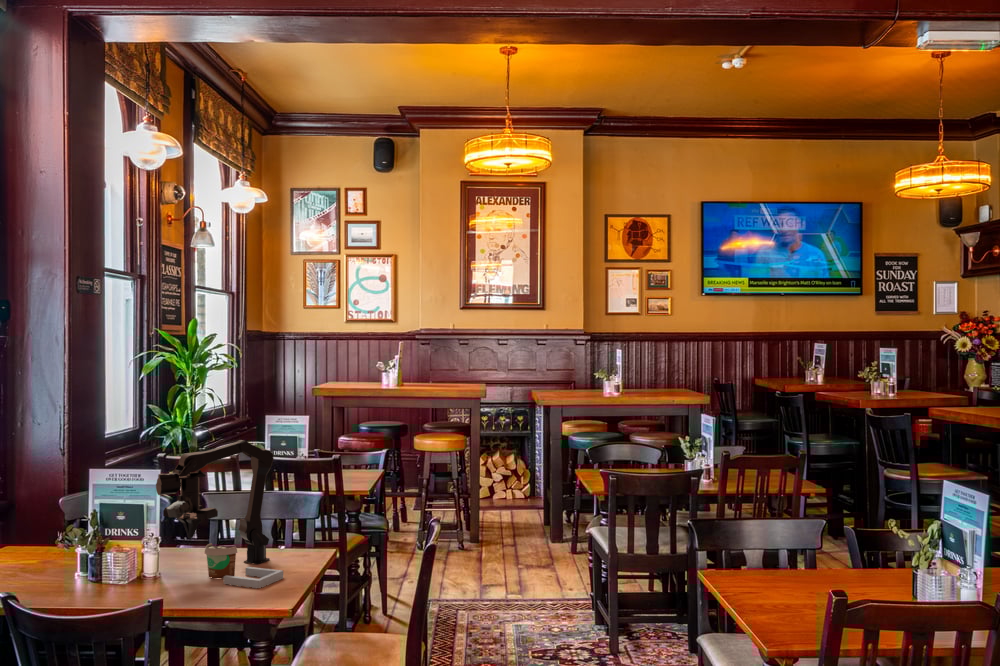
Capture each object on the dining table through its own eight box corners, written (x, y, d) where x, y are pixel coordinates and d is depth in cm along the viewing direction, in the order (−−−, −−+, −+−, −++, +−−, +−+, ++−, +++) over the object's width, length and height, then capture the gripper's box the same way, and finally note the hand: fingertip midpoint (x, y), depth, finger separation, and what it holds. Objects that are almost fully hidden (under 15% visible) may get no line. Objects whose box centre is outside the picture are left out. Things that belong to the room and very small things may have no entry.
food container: (196, 577, 263) (196, 546, 263) (210, 572, 269) (210, 542, 269) (223, 581, 258) (222, 550, 258) (237, 576, 263) (237, 546, 263)
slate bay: (248, 574, 266) (248, 566, 266) (283, 578, 260) (283, 570, 260) (223, 584, 255) (223, 576, 255) (259, 588, 249) (259, 580, 249)
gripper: (150, 494, 264) (150, 541, 263) (194, 497, 257) (194, 545, 256) (175, 488, 274) (175, 534, 274) (218, 491, 267) (219, 538, 267)
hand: (190, 538), depth 267 cm, fingers closed
